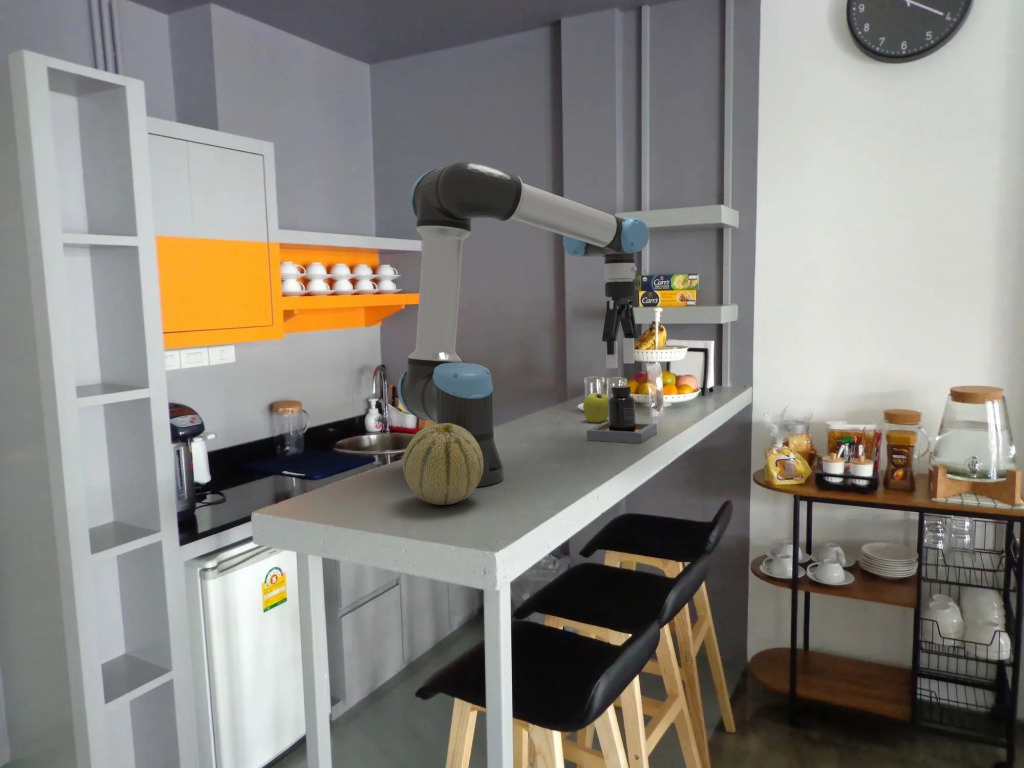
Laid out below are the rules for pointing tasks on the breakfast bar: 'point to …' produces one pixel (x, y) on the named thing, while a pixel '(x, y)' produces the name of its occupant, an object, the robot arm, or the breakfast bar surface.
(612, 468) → the breakfast bar surface
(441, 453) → the cantaloupe
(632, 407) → the supplement bottle
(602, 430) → the grey square tray
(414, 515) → the breakfast bar surface
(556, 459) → the breakfast bar surface
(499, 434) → the breakfast bar surface
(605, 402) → the apple
